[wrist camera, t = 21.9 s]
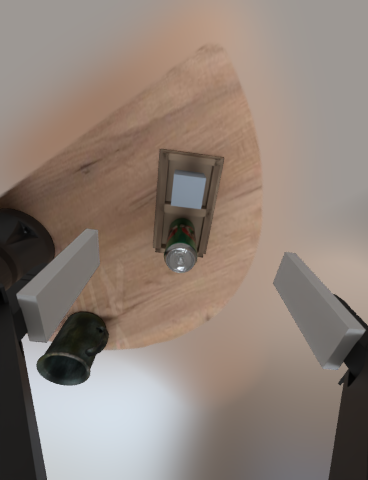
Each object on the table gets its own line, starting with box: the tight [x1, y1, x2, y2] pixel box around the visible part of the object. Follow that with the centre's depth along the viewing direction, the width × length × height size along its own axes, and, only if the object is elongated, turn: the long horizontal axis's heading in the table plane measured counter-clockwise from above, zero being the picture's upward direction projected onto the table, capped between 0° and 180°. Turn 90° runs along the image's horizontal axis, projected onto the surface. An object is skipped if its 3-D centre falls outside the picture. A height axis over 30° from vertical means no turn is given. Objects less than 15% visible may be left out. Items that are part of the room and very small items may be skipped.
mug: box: [37, 312, 109, 385], centre depth 50 cm, size 11×15×12 cm
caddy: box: [153, 149, 224, 258], centre depth 40 cm, size 11×19×3 cm, turn 173°
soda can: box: [164, 218, 197, 273], centre depth 37 cm, size 5×5×12 cm
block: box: [171, 169, 206, 209], centre depth 36 cm, size 5×5×5 cm
